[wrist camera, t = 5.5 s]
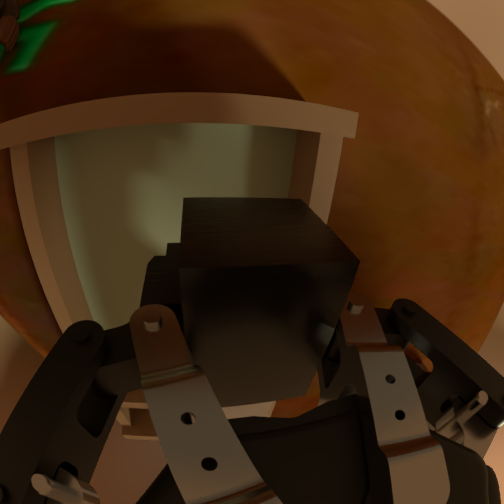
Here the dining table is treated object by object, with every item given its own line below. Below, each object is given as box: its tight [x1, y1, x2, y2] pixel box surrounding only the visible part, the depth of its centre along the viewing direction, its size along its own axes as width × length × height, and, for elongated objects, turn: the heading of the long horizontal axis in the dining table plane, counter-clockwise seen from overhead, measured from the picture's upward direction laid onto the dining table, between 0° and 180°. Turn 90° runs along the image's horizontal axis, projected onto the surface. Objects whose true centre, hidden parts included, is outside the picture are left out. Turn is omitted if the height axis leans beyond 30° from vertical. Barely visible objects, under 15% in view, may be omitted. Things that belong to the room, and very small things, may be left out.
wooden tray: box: [0, 92, 359, 440], centre depth 16 cm, size 16×30×12 cm, turn 174°
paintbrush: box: [179, 197, 360, 419], centre depth 18 cm, size 4×33×9 cm, turn 174°
